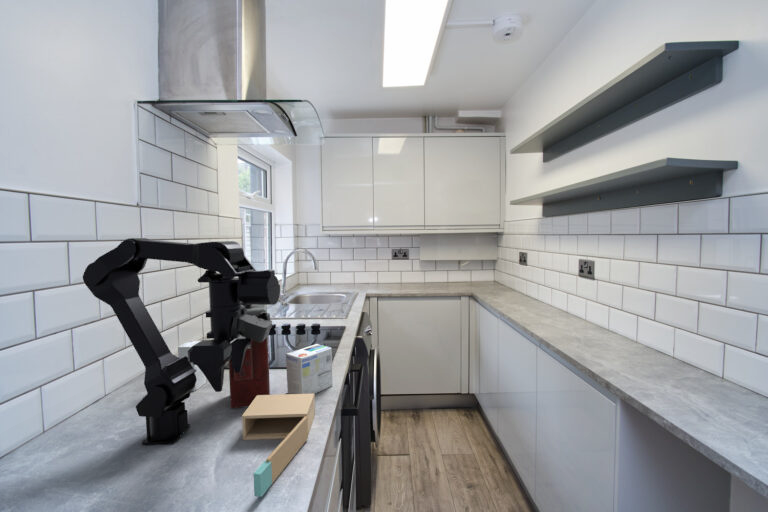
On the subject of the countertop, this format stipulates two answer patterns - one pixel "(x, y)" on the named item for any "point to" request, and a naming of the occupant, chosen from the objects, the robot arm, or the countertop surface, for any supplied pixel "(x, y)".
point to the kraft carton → (277, 415)
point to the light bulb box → (309, 369)
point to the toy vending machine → (251, 369)
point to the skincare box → (199, 374)
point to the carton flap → (280, 458)
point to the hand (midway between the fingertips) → (229, 381)
